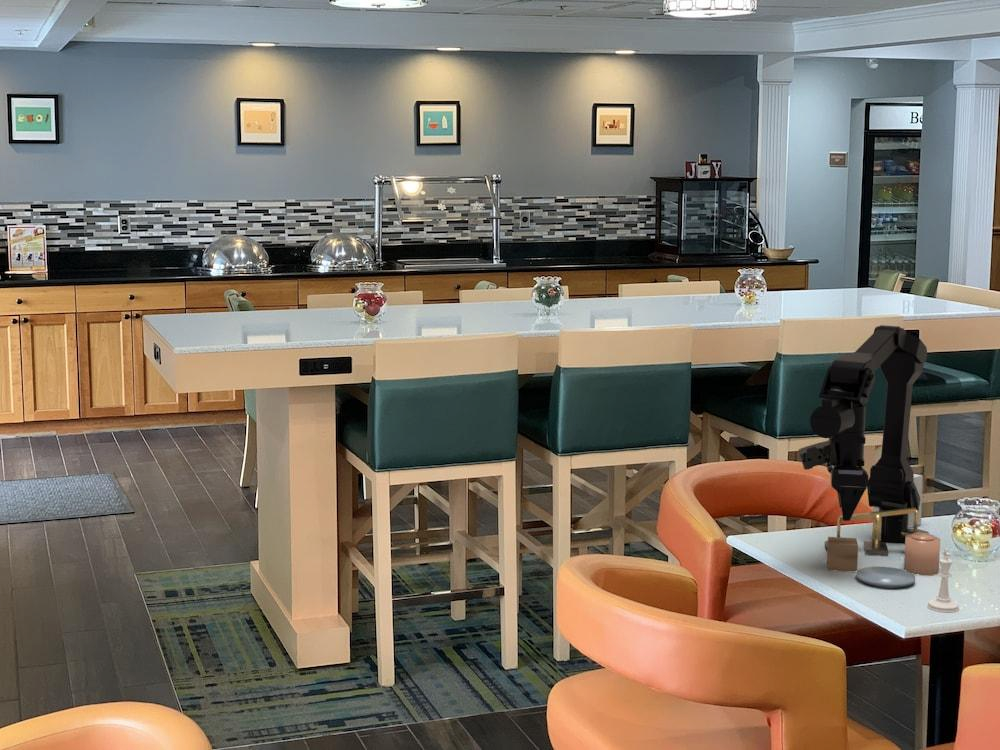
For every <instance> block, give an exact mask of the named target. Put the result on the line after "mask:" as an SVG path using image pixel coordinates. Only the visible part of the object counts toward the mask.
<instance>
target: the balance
mask: <svg viewBox="0 0 1000 750" xmlns="http://www.w3.org/2000/svg"><path fill="white" fill-rule="evenodd" d="M909 513H915V514H914V527H913V528H908V529H904V530H902V531H901V535H902V536H904V537H906V536H907V535H910V534H913V533H928V534H930V533H929V531H927V530H923V529H919V528H918V526H917V520H918V510H916V508H915V507H914V508H905V509H896V510H887V511H878V512H873V511H871V512H864V513H853V515H852V517H851V519H850V520H849V521H854V520H863V519H865V520H866V519H871V518H872V527H871V528H872V532H871V534H872V535H871V541H868V540H867V541H866V540H864V541H863V549H864V552H866V553H865V555H866V554H868V555H867V556H877V555H885V556H884V557H888V556H889V549H888V546H887V543H886V541H881V524H882V517H883V516H892V515H901V514H909ZM838 516H839V517H838V518H837V522H836V523H837V524H836V525H837V526H836V537H841V527H842V526H841V523H842V522H845V521H844V520H843V516H842V515H838ZM824 547H825V548H827V549H828V540H826V541H824Z"/></svg>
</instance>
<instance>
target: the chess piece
mask: <svg viewBox="0 0 1000 750" xmlns="http://www.w3.org/2000/svg"><path fill="white" fill-rule="evenodd" d="M941 555H943V558H939V567H940V570H941V572H939V573H938V574H937V575H938V576H939V577H941V580H940V587H939V590H938V595H937V596H936V598H931V599H930V600H928V601H927V603H928V604H927V607H928V608H929V610H932V611H934V612H939V613H955V612H958V611H959V610H960V608H959V603H957V602H956V601H955V600H952V598H951V597H950V593H949V578H951V577H952V576H953V575H952V573H951V572H949V571H950V568H951V567H952V564H953V561H952V559H950V557H951V553H949V548H944V550H942V551H941ZM928 608H927V609H928Z"/></svg>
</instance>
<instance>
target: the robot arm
mask: <svg viewBox="0 0 1000 750" xmlns="http://www.w3.org/2000/svg"><path fill="white" fill-rule="evenodd" d="M927 357H928V349H927V346H926V344H925V343H924V342H923V341H922V340H921V339H920V338H919V337H917V336H915V335H913V334H911V333H909V332H907V331H906V330H905V329H904V328H903V327H901V326H899V325H898V326H897V325H896V326H895V325H884V324H881V325H877V326H876V327H874V329H873V333H872V334H871V335H870V336H869V337H868V338H867V339H866V340H865V341H864V342H863V343H862V344H861V346H859V348H857V349H856V350H855V352H852V353H850V354H849V353H848V354H844V355H840V356H839V357H837V358H835V359H833V361H832V362H831V364H830V365H829V366H828V368H827V371H826V374H825V375H824V376H825V377H824V379H823V382H822V385H821V389H820V392H819V394H818V398H819V399H821V405H820V406H818V407H816V408H815V409H814V410H813V411H812V413H811V416H810V418H809V419H810V420H809V423H810V427H811V429H812V431H813V432H814V434H815V435H816V436H818V437H820V438H823V439H828V440H825V441H821V442H817V443H814V444H811V445H810V444H809V445H808V446H804V447H801V448H799V449H798V455H799V457H800V461H801V464H802V466H803V470H811V469H813V468H815V467H818V466H820V465H823V464H826V469H827V472H828V473H829V474H830V485H831V487H832V488H833V490H835V491H836V492H837V498H838V504H839V508H840V509H841V516H843V520H844V521H843V522H849V521H851V520H850V519H851V517H852V515H853V514H855V513H854V512H855V511H856V508H857V506H858V505H859V502H860V501H861V499H862V497H863V495H864V494H865V492H866V491H867V499H868V506H869V507H871V508H873V507H879V511H887V510H896V509H905V508H914V507H915V508H916V510H918V511H919V506H920V496H919V493H918V491H917V488H916V486H915V483H914V474H915V473H914V470H913V468H912V467H911V465H910V462H909V461H908V459H907V458H908V457H907V456H908V455H907V454H908V442H909V433H910V432H909V430H910V421H911V411H912V410H911V407H912V397H913V389H914V387H913V386H914V384H915V382H916V381H917V380H918V379H919V377H920V375H921V374H922V373H923V370H924V365H925V363H926V361H927ZM877 369H880V371H881V374H882V375H883V377H884V379H885V381H886V383H887V384H886V394H885V395H886V396H885V408H884V420H883V429H882V430H883V432H882V441H881V442H882V443H881V452H880V453H881V455H880V458H879V459H878V460H877V462H876V463H875V464H873V465H872V466H871V467H870V470H869V471H870V472H869V474H868V471H866V470H865V468H863V467H865V459H864V457H865V456H864V451H865V444H866V436H865V431H866V430H865V429H866V411H867V410H866V409H867V407H866V406H867V403H868V402H869V396H870V394H871V392H872V389H873V387H874V384H875V382H876V374H875V372H876V371H877ZM908 518H909V514H901V515H892V516H883V517H882V524H881V542H891V543H905V538H906V537H904V536H902V535H901V531H902V530H904V529H909V528H908Z"/></svg>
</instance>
